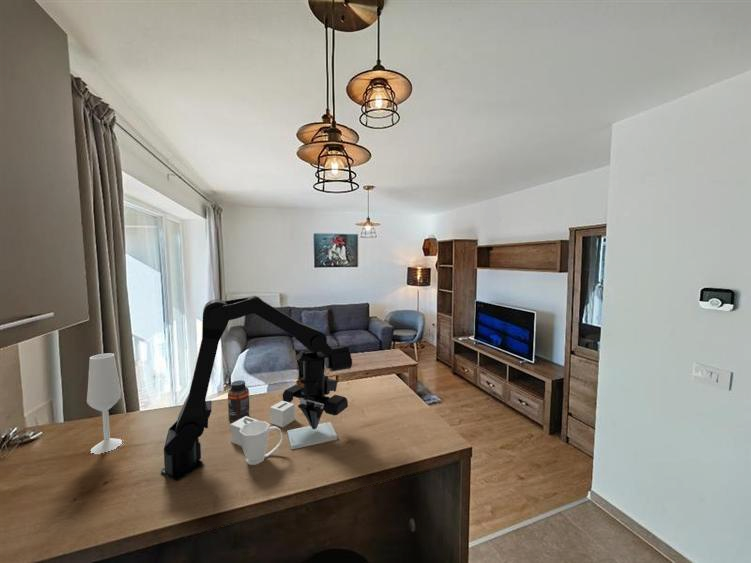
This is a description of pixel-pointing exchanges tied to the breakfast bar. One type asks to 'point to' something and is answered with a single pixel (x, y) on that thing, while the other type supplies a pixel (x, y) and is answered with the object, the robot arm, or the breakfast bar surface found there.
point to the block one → (282, 413)
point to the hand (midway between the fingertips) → (314, 428)
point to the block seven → (236, 428)
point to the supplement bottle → (238, 401)
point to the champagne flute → (103, 395)
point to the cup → (256, 441)
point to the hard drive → (311, 435)
